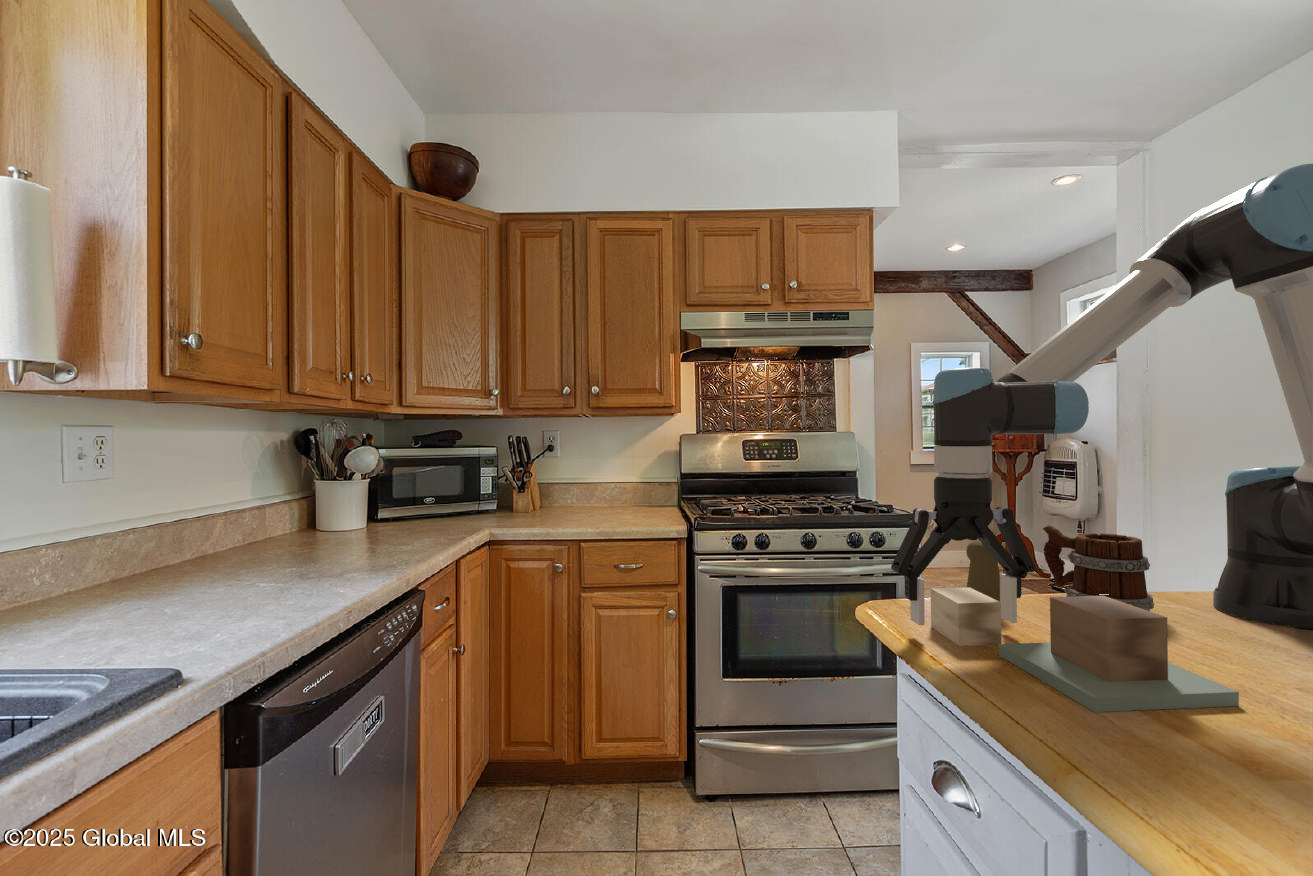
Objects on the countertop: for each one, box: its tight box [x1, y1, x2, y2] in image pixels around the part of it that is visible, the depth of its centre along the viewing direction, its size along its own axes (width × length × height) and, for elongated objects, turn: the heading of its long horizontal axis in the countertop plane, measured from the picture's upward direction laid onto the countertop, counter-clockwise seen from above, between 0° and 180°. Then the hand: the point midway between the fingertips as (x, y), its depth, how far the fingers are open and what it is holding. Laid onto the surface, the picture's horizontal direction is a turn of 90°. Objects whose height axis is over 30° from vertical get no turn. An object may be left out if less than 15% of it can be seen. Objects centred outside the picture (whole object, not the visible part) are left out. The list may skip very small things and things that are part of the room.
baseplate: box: [998, 641, 1240, 713], centre depth 71 cm, size 16×16×2 cm
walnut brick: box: [1049, 596, 1169, 682], centre depth 71 cm, size 7×9×7 cm
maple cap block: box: [930, 587, 1003, 647], centre depth 86 cm, size 6×8×6 cm
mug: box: [1042, 525, 1155, 612], centre depth 99 cm, size 12×14×15 cm
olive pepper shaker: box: [965, 540, 1001, 602], centre depth 100 cm, size 6×6×11 cm
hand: (963, 621), depth 86 cm, fingers open, 13 cm apart
